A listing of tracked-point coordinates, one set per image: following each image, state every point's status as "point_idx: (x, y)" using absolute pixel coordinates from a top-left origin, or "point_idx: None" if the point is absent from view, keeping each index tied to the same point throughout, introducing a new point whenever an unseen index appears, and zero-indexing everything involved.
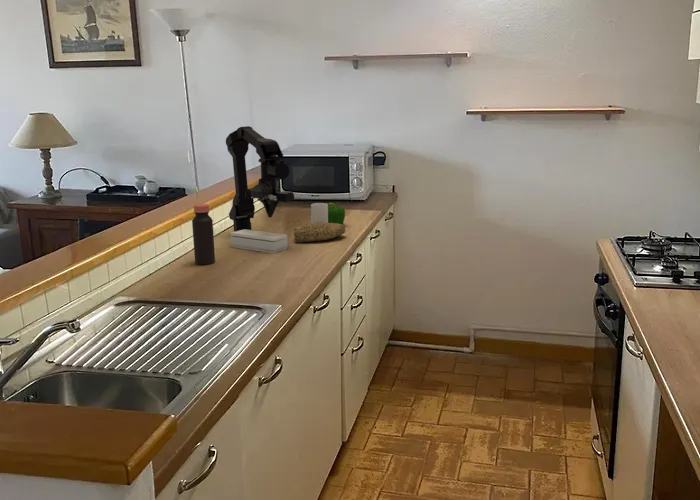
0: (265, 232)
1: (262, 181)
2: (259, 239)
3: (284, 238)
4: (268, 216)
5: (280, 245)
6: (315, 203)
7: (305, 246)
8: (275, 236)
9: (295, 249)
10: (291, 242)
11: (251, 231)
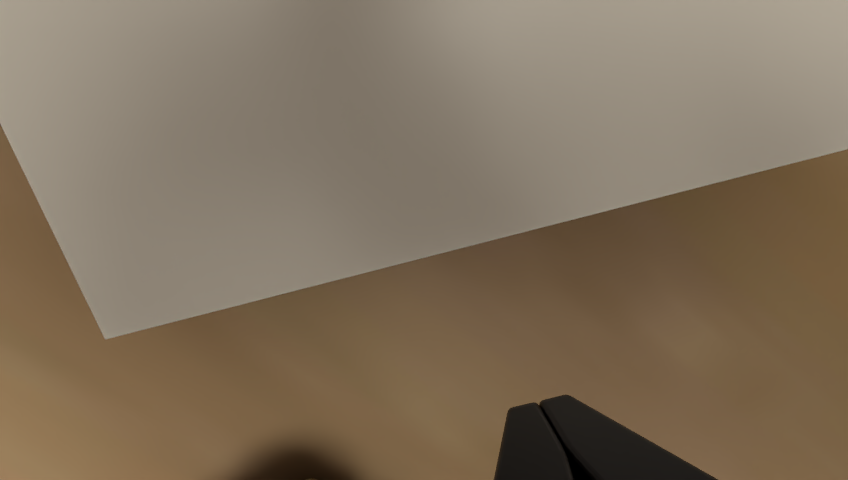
0: (521, 203)
1: None
2: None
3: None
4: (564, 400)
5: None
6: None
7: (102, 445)
8: (95, 101)
9: (55, 289)
10: (371, 445)
11: (763, 81)
